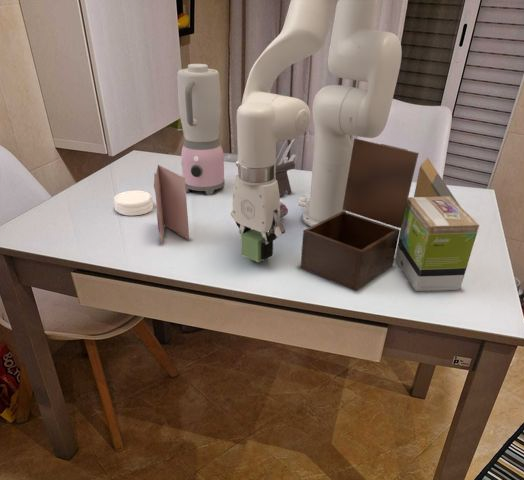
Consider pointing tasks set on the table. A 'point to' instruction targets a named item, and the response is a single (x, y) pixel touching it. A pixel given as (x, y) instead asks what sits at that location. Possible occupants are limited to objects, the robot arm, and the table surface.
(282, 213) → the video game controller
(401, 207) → the lid
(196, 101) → the blender
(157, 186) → the greeting card
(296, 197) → the table surface
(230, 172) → the table surface
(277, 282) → the table surface
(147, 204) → the coaster
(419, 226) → the tea box
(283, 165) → the tablet stand
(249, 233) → the green block
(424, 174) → the sandwich container
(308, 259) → the wooden box
